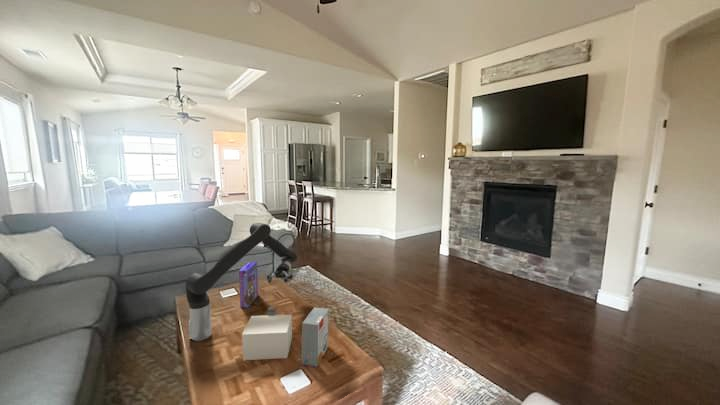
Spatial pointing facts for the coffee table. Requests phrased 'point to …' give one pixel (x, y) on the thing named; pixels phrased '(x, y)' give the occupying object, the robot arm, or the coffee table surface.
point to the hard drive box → (314, 336)
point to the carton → (267, 345)
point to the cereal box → (248, 284)
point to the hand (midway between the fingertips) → (277, 281)
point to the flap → (267, 324)
